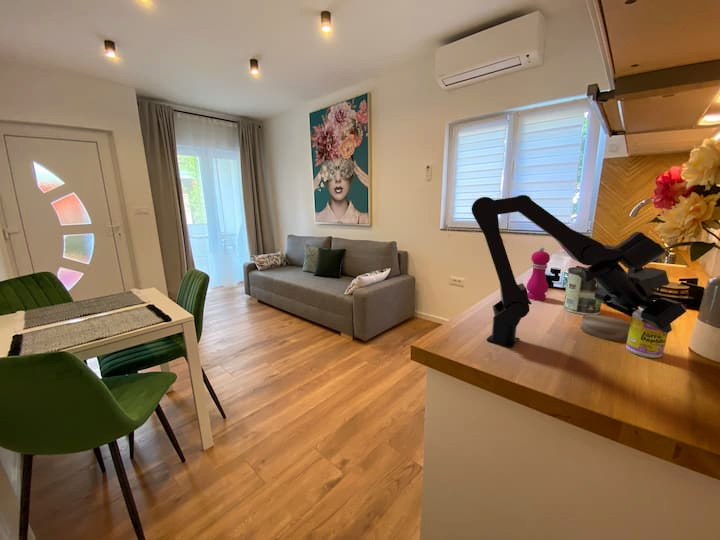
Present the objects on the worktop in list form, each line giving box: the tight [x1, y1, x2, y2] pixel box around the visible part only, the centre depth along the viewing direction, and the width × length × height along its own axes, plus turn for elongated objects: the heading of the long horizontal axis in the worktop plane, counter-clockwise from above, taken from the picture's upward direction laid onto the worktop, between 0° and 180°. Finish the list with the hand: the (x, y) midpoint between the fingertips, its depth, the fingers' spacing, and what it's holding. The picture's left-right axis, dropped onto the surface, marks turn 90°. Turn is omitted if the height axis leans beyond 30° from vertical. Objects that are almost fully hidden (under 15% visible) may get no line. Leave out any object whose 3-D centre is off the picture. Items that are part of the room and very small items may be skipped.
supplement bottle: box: [625, 299, 669, 359], centre depth 71 cm, size 7×7×13 cm
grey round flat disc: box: [580, 314, 631, 342], centre depth 84 cm, size 11×11×4 cm
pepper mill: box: [525, 246, 551, 301], centre depth 113 cm, size 7×7×20 cm
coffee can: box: [562, 266, 602, 316], centre depth 100 cm, size 10×10×14 cm
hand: (655, 325), depth 71 cm, fingers closed on supplement bottle, 7 cm apart
